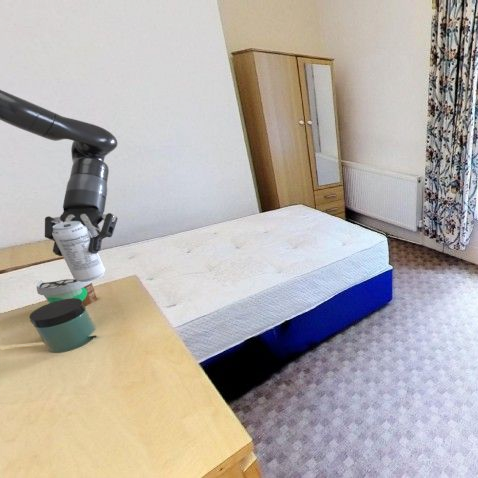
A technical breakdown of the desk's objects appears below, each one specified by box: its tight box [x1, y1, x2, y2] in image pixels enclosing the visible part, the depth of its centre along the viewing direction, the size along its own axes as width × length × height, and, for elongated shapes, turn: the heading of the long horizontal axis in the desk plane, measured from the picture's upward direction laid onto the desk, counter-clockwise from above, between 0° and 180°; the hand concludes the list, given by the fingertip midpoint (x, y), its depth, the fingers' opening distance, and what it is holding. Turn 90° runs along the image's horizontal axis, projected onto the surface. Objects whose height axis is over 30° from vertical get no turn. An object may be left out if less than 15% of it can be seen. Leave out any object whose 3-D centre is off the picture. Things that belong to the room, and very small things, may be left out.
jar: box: [33, 307, 97, 354], centre depth 83 cm, size 9×9×10 cm
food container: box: [36, 278, 98, 307], centre depth 93 cm, size 12×6×10 cm, turn 106°
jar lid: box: [28, 298, 86, 327], centre depth 81 cm, size 9×9×2 cm
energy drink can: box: [52, 221, 106, 282], centre depth 81 cm, size 6×6×15 cm
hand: (76, 253), depth 80 cm, fingers closed on energy drink can, 6 cm apart
